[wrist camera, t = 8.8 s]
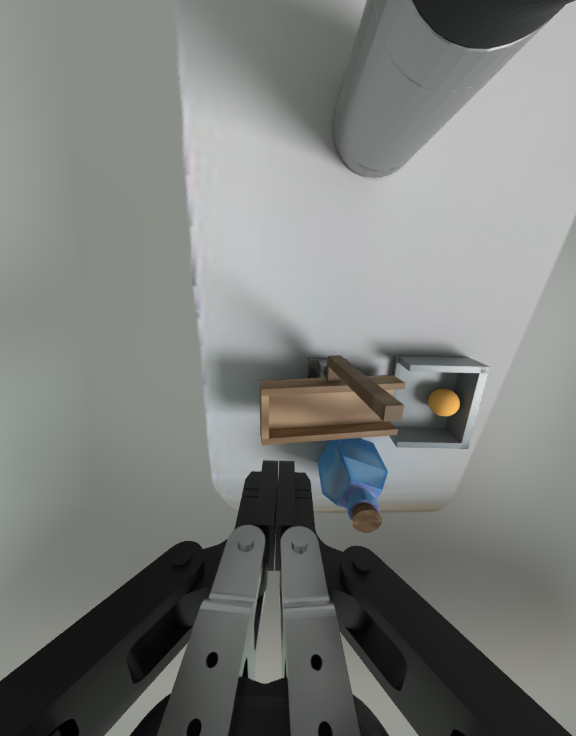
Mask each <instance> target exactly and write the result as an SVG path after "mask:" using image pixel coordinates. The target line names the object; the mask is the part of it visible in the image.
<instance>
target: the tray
mask: <svg viewBox="0 0 576 736" xmlns="http://www.w3.org/2000/svg"><path fill="white" fill-rule="evenodd" d="M489 368H490V367H489V366H487V365H484V364H482V363H480V362H478V361H475V360H473V359H471V358H468V357H425V356H395V362H394V369H393V375H394V376H396V377H397V378H399V379H400V380H402V381H403V382H405V383H406V385H405V389H401V390H395V391H394V398H396V399H397V400H398V401H400V402H401V403H402V404H403V405H404V410H403V416H402V420H399V421H390V422H391V423H392V424H393V425H394V426H395V427H396V428H397V429H398V432H397V435H389V436H390V438H391V439H392V441H393V442H394V444H395V446H396V447H410V448H456V449H468V447H469V443H470V439H471V435H472V432H473V428H474V424H475V421H476V417H477V413H478V409H479V406H480V402H481V398H482V394H483V391H484V387H485V383H486V380H487V376H488V372H489ZM437 389H449V390H451V391H453V392H454V393H455V394H456V395H457V396H458V398H459V400H460V406H459V409H458V411H457V412H456V413H454V414H453V415H450V416H439V415H437V414H435V413H434V412H433V411H432V410H431V409H430V407H429V404H428V399H429V396H430V394H431V393H432V392H434V391H435V390H437Z"/></svg>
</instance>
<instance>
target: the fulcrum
mask: <svg viewBox="0 0 576 736" xmlns="http://www.w3.org/2000/svg"><path fill="white" fill-rule="evenodd" d="M345 360H347V359H345ZM326 369H327V359H320V358H308V375H307V378H326Z"/></svg>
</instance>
